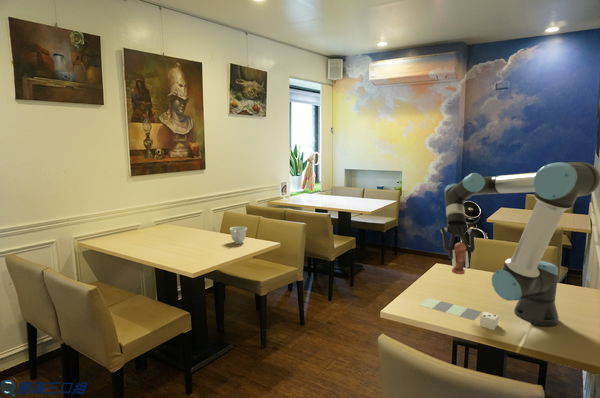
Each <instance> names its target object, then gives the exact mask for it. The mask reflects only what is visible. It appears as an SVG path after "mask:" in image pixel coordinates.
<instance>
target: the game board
mask: <svg viewBox="0 0 600 398" xmlns="http://www.w3.org/2000/svg"><path fill="white" fill-rule="evenodd" d="M419 306H421V307H425V308H428V309H432V310H436V311H438V312H442V313H446V314H450V315H453V316H458V317H460V318H464V319H467V320H472V321H475V320H476V319H477V318H478V317H479V316H480V315H481V314H482V311H480V310H477V309H474V308H473V309H472V308H468V307H466V306H461V305H458V304H453V303H450V302H445V301H443V300H439V299H435V298H432V297H431V298H430V297H427V298H426V299H425V300H424V301H422V303H420V304H419Z"/></svg>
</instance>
